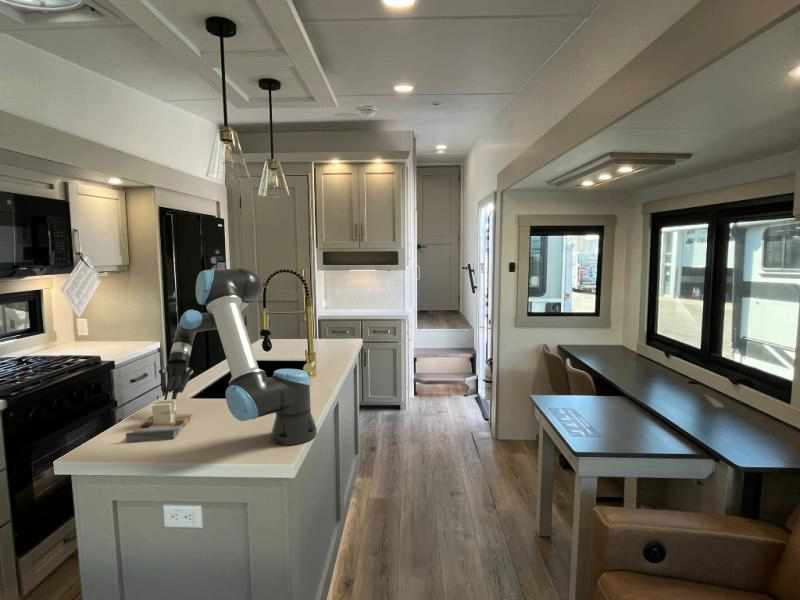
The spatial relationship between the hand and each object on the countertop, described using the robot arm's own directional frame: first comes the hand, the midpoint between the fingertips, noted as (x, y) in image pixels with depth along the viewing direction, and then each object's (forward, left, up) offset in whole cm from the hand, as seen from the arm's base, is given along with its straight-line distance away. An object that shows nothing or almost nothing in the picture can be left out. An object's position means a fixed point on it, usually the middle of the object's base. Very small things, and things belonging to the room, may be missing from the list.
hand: (167, 408), depth 169 cm
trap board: (-8, +2, -5) cm, 10 cm away
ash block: (-4, +1, -3) cm, 5 cm away
